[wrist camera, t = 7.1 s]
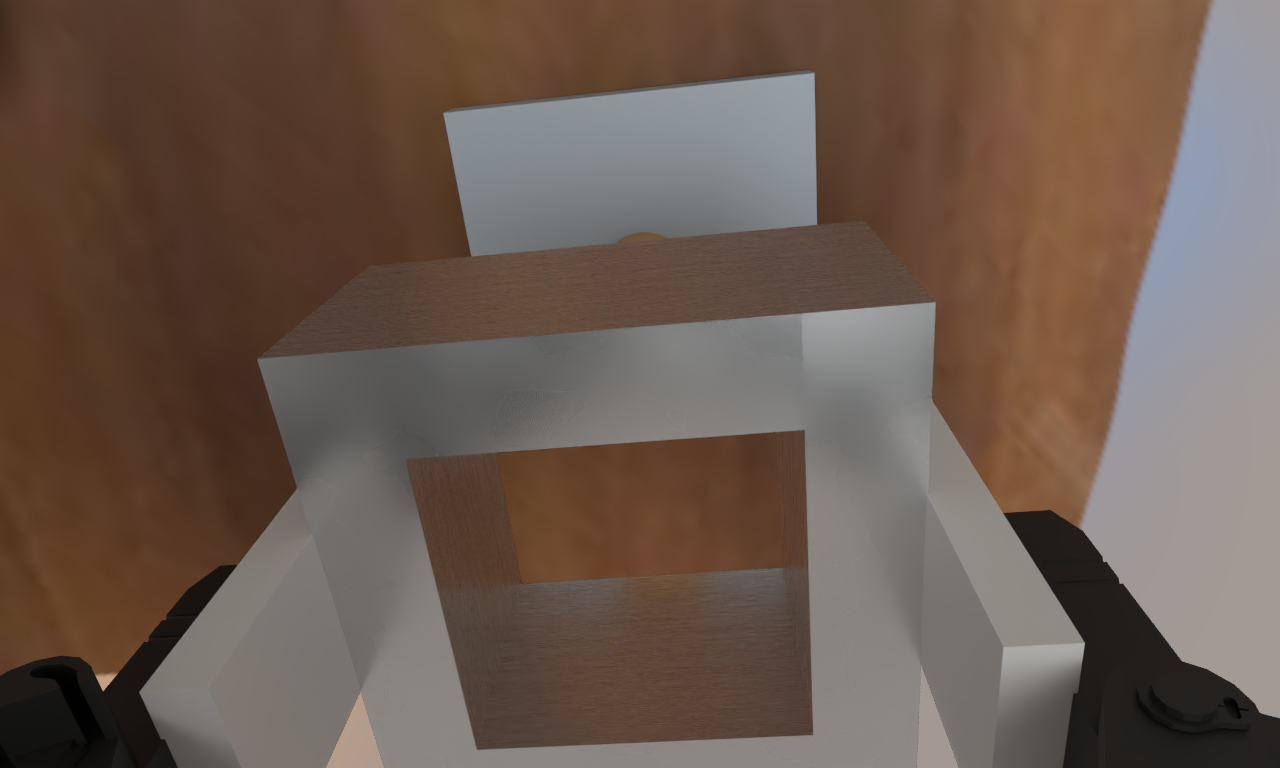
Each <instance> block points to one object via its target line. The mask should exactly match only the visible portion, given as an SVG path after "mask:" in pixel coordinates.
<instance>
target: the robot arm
mask: <svg viewBox="0 0 1280 768" xmlns="http://www.w3.org/2000/svg"><path fill="white" fill-rule="evenodd" d="M166 616H167V619H166V620H162V621H161V622H160V624H159V625H158V626H157V627H156V628H155V630H154V631H153V632H152V633H151V634H150V636H149V641H148V642H144V643H143V644H142V645H141V647H140V648H139V649H138V650H137V651H136V653H135V654H134V655H133V656H132V657H131V659H130V660H129V661H128V662H127V663H126V665H125V666H124V667H123V668H122V670H121V671H120V672H119V673H118V674H117V676H116V677H115V678H114V679H113V680H112V682H111V683H110V684H109V685H108V686H107V688H106V689H105V690H104V691H102V689H101V687H100V685H99V683H98V680H97V678H96V676H95V674H94V672H93V670H92V668H91V666H90V665H89V664H88V663H86V662H85V661H84V660H82V659H81V658H80V657H69V656H57V657H52V658H47V659H41V660H36V661H34V662H31V663H28V664H26V665H23V666H21V667H18V668H16V669H13V670H10V671H8V672H6V673H5V674H3V675H1V676H0V768H326V766H327V764H328V762H329V759H330V757H331V755H332V753H333V751H334V748H335V746H336V744H337V741H338V740H339V737H340V735H341V733H342V731H343V729H344V727H345V724H346V722H347V720H348V718H349V716H350V713H351V711H352V709H353V707H354V705H355V702H356V700H357V698H358V696H359V694H360V691H361V688H360V685H359V682H358V678H357V675H356V672H355V669H354V666H353V662H352V659H351V656H350V653H349V649H348V646H347V643H346V640H345V637H344V633H343V630H342V627H341V624H340V621H339V617H338V614H337V611H336V608H335V605H334V601H333V598H332V595H331V592H330V589H329V585H328V582H327V579H326V576H325V572H324V569H323V566H322V563H321V560H320V556H319V553H318V550H317V547H316V544H315V540H314V537H313V535H312V534H311V531H310V527H309V524H308V521H307V518H306V514H305V511H304V508H303V505H302V502H301V498H300V495H299V492H298V489H296V491H295V492H294V493H293V495H292V496H291V497H290V498H289V500H288V501H287V502H286V504H285V505H284V506H283V507H282V509H281V510H280V511H279V513H278V514H277V515H276V516H275V518H274V519H273V520H272V522H271V523H270V524H269V525H268V527H267V528H266V529H265V531H264V532H263V533H262V534H261V536H260V537H259V538H258V540H257V541H256V542H255V544H254V545H253V546H252V547H251V549H250V550H249V551H248V553H247V554H246V555H245V556H244V558H243V559H242V560H241V562H240V563H239V564H238V565H227V566H219V567H218V568H216V569H215V570H214V571H212V572H211V573H210V574H208V575H207V576H206V577H204V578H203V579H201V580H200V581H199V582H197V583H196V584H195V585H193V586H192V587H190V588H189V589H188V590H187V591H186V592H185V593H184V595H183V596H182V597H181V598H180V599H179V601H178V602H177V603H176V604H175V606H174V607H173V608H172V609H171V610H170V612H169V613H168V614H167V615H166ZM920 663H921V665H922V668H923V671H924V674H925V676H926V679H927V681H928V684H929V687H930V690H931V693H932V695H933V698H934V701H935V704H936V706H937V709H938V712H939V715H940V717H941V720H942V723H943V726H944V728H945V731H946V734H947V736H948V739H949V742H950V745H951V748H952V750H953V753H954V756H955V758H956V761H957V764H958V767H959V768H1280V718H1276V717H1272V716H1268V715H1264V714H1261V713H1259V711H1258V709H1257V707H1256V705H1255V704H1254V703H1253V702H1252V701H1251V700H1250V699H1249V698H1248V697H1247V696H1246V695H1245V694H1244V693H1243V692H1242V691H1240V690H1239V689H1238V688H1237V687H1236V686H1235V685H1234V684H1232V683H1231V682H1229V681H1227V680H1225V679H1223V678H1222V677H1220V676H1218V675H1216V674H1214V673H1213V672H1211V671H1209V670H1207V669H1204V668H1201V667H1198V666H1195V665H1192V664H1189V663H1185V662H1182V661H1181V660H1180V658H1179V657H1178V656H1177V654H1176V653H1175V652H1174V650H1173V649H1172V648H1171V646H1170V645H1169V644H1168V643H1167V641H1166V640H1165V638H1164V637H1163V636H1162V635H1161V633H1160V632H1159V631H1158V629H1157V628H1156V627H1155V625H1154V624H1153V623H1152V622H1151V620H1150V619H1149V617H1148V616H1147V615H1146V614H1145V612H1144V611H1143V610H1142V608H1141V607H1140V606H1139V604H1138V603H1137V602H1136V600H1135V599H1134V598H1133V596H1132V595H1131V594H1130V592H1129V591H1128V590H1127V588H1126V587H1125V586H1124V585H1123V584H1119V579H1118V577H1117V575H1116V574H1115V573H1114V571H1113V570H1112V569H1111V568H1110V566H1109V565H1108V563H1107V562H1103V559H1102V556H1101V554H1100V553H1099V552H1098V550H1097V549H1096V548H1095V546H1094V545H1093V544H1092V542H1091V541H1090V540H1089V538H1088V537H1087V536H1086V535H1085V533H1084V532H1083V531H1082V530H1080V529H1079V528H1077V527H1076V526H1074V525H1073V524H1071V523H1070V522H1068V521H1066V520H1065V519H1063V518H1062V517H1060V516H1059V515H1057V514H1056V513H1054V512H1052V511H1051V510H1045V511H1029V512H1013V513H1003V512H1002V511H1001V509H1000V508H999V506H998V504H997V503H996V501H995V500H994V498H993V497H992V495H991V493H990V492H989V490H988V489H987V487H986V485H985V484H984V482H983V481H982V479H981V477H980V476H979V474H978V473H977V471H976V470H975V468H974V466H973V465H972V463H971V462H970V460H969V458H968V457H967V455H966V454H965V452H964V451H963V449H962V447H961V446H960V444H959V443H958V441H957V439H956V438H955V436H954V435H953V433H952V432H951V430H950V428H949V427H948V425H947V424H946V422H945V420H944V419H943V417H942V416H941V414H940V413H939V411H938V409H937V408H936V406H935V405H934V403H933V401H932V405H931V430H930V454H929V479H928V494H927V495H926V521H925V547H924V573H923V599H922V626H921V652H920Z"/></svg>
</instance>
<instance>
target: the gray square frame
mask: <svg viewBox="0 0 1280 768" xmlns="http://www.w3.org/2000/svg"><path fill="white" fill-rule="evenodd" d="M935 305H936V302H935V301H934V300H933V299H932V298H931V296H930V295H929V294H928V293H927V292H926V291H925V290H924V288H923V287H922V286H921V285H920V284H919V283H918V282H917V280H916V279H915V278H914V277H913V276H912V275H911V274H910V272H909V271H908V270H907V269H906V268H905V267H904V266H903V264H902V263H901V262H900V261H899V260H898V259H897V258H896V256H895V255H894V254H893V253H892V252H891V251H890V250H889V248H888V247H887V246H886V245H885V244H884V243H883V241H882V240H881V239H880V238H879V237H878V236H877V235H876V233H875V232H874V231H873V230H872V229H871V228H870V227H869V225H868V224H867V223H866V222H865V221H853V222H842V223H831V224H820V225H809V226H798V227H787V228H777V229H766V230H755V231H744V232H733V233H722V234H711V235H700V236H689V237H679V238H668V239H657V240H646V241H635V242H624V243H613V244H602V245H591V246H581V247H570V248H559V249H548V250H537V251H526V252H515V253H504V254H493V255H482V256H472V257H461V258H450V259H439V260H428V261H417V262H406V263H395V264H384V265H374V266H368V267H367V268H366V269H364V270H363V271H362V272H361V273H360V274H358V275H357V276H356V277H355V278H354V279H352V280H351V281H350V282H349V283H348V284H346V285H345V286H344V287H343V288H342V289H340V290H339V291H338V292H337V293H336V294H334V295H333V296H332V297H331V298H330V299H328V300H327V301H326V302H325V303H324V304H322V305H321V306H320V307H319V308H318V309H316V310H315V311H314V312H313V313H312V314H310V315H309V316H308V317H307V318H306V319H304V320H303V321H302V322H301V323H300V324H298V325H297V326H296V327H295V328H294V329H292V330H291V331H290V332H289V333H288V334H287V335H285V336H284V337H283V338H282V339H281V340H279V341H278V342H277V343H276V344H275V345H273V346H272V347H271V348H270V349H269V350H267V351H266V352H265V353H264V354H263V355H261V356H260V357H259V358H258V359H257V360H258V363H259V367H260V370H261V373H262V376H263V379H264V383H265V386H266V389H267V392H268V396H269V399H270V402H271V405H272V408H273V412H274V415H275V418H276V421H277V424H278V428H279V431H280V434H281V437H282V441H283V444H284V447H285V450H286V453H287V457H288V460H289V463H290V466H291V469H292V473H293V476H294V479H295V482H296V486H297V489H298V492H299V495H300V498H301V502H302V505H303V508H304V511H305V514H306V518H307V521H308V524H309V527H310V531H311V534H312V535H313V537H314V540H315V544H316V547H317V550H318V553H319V556H320V560H321V563H322V566H323V569H324V572H325V576H326V579H327V582H328V585H329V589H330V592H331V595H332V598H333V601H334V605H335V608H336V611H337V614H338V617H339V621H340V624H341V627H342V630H343V633H344V637H345V640H346V643H347V646H348V649H349V653H350V656H351V659H352V662H353V666H354V669H355V672H356V675H357V678H358V682H359V685H360V688H361V694H362V698H363V701H364V704H365V707H366V710H367V714H368V717H369V720H370V723H371V727H372V730H373V733H374V736H375V739H376V743H377V746H378V749H379V752H380V756H381V759H382V762H383V765H384V768H917V752H918V727H919V704H920V678H921V676H920V675H921V663H920V652H921V626H922V599H923V573H924V547H925V521H926V495H927V494H928V479H929V454H930V430H931V405H932V380H933V355H934V330H935ZM770 432H776V437H777V460H778V483H779V506H780V530H781V553H782V568H773V569H756V570H739V571H723V572H706V573H689V574H672V575H656V576H639V577H622V578H606V579H589V580H572V581H555V582H539V583H522V581H521V576H520V571H519V566H518V561H517V556H516V551H515V546H514V541H513V535H512V530H511V525H510V520H509V515H508V510H507V505H506V500H505V495H504V490H503V485H502V479H501V474H500V469H499V464H498V459H497V454H496V452H508V451H522V450H536V449H549V448H563V447H577V446H591V445H605V444H618V443H632V442H646V441H660V440H673V439H687V438H701V437H715V436H728V435H742V434H756V433H770Z"/></svg>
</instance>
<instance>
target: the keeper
mask: <svg viewBox="0 0 1280 768" xmlns="http://www.w3.org/2000/svg"><path fill="white" fill-rule="evenodd" d="M443 114H444V119H445V124H446V129H447V134H448V139H449V145H450V150H451V155H452V160H453V165H454V170H455V175H456V181H457V186H458V191H459V196H460V201H461V206H462V211H463V217H464V222H465V227H466V232H467V237H468V242H469V248H470V253H471V257H472V256H482V255H493V254H504V253H515V252H526V251H537V250H548V249H559V248H570V247H581V246H591V245H602V244H613V243H624V242H635V241H646V240H657V239H668V238H679V237H689V236H700V235H711V234H722V233H733V232H744V231H755V230H766V229H777V228H787V227H798V226H809V225H817V189H816V133H815V78H814V73H813V72H812V71H810V70H804V71H794V72H785V73H776V74H767V75H757V76H748V77H739V78H729V79H720V80H711V81H702V82H692V83H683V84H674V85H665V86H655V87H646V88H637V89H628V90H618V91H609V92H600V93H591V94H581V95H572V96H563V97H553V98H544V99H535V100H526V101H516V102H507V103H498V104H489V105H479V106H470V107H461V108H452V109H450V110H448V111H446V112H444V113H443Z"/></svg>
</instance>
